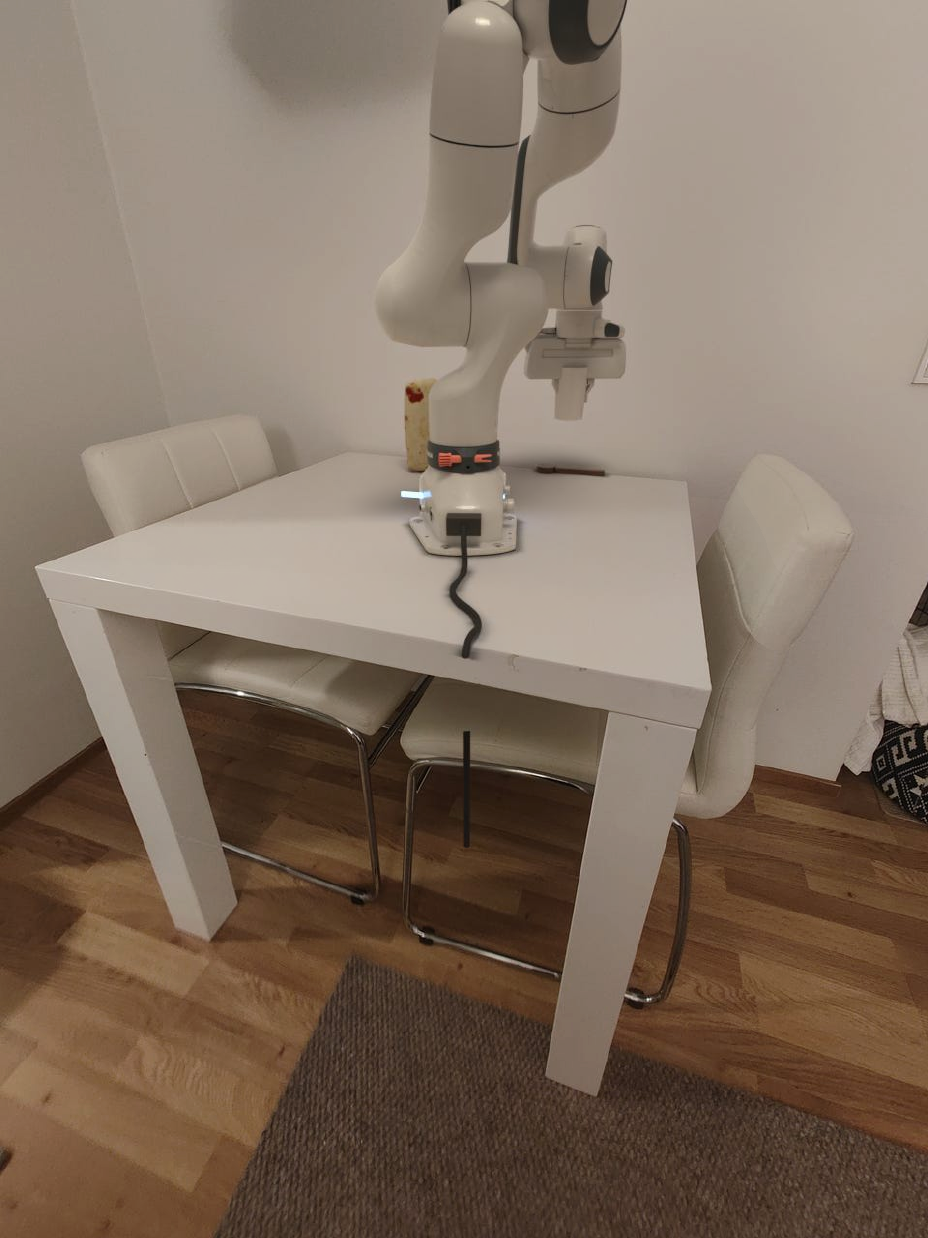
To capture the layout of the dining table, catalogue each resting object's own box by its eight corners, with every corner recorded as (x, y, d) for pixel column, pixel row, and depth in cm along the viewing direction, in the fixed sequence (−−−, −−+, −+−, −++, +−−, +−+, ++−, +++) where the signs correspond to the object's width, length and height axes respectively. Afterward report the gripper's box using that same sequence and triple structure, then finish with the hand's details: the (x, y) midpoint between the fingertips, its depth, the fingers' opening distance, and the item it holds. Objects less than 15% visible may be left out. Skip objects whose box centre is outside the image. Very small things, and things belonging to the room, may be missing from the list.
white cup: (545, 418, 119) (549, 366, 114) (564, 414, 124) (568, 364, 119) (572, 422, 115) (577, 368, 110) (590, 417, 119) (595, 366, 115)
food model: (413, 475, 130) (409, 380, 120) (401, 469, 135) (396, 378, 125) (451, 470, 134) (450, 378, 124) (438, 464, 139) (436, 376, 130)
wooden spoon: (605, 472, 131) (606, 467, 131) (603, 477, 128) (604, 472, 127) (538, 467, 136) (539, 462, 135) (534, 472, 132) (535, 466, 132)
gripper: (528, 327, 107) (524, 405, 114) (633, 327, 109) (623, 403, 116) (522, 327, 113) (519, 400, 120) (622, 326, 115) (613, 399, 121)
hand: (571, 402), depth 118 cm, fingers closed on white cup, 3 cm apart
